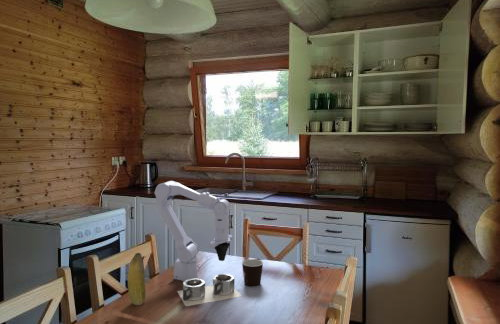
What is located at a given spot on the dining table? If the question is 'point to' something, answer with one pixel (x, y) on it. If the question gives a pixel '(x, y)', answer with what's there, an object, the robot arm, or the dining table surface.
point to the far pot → (223, 285)
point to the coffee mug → (252, 272)
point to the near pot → (193, 290)
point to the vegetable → (136, 280)
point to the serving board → (209, 296)
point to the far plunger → (223, 278)
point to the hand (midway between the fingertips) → (221, 260)
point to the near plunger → (194, 283)
